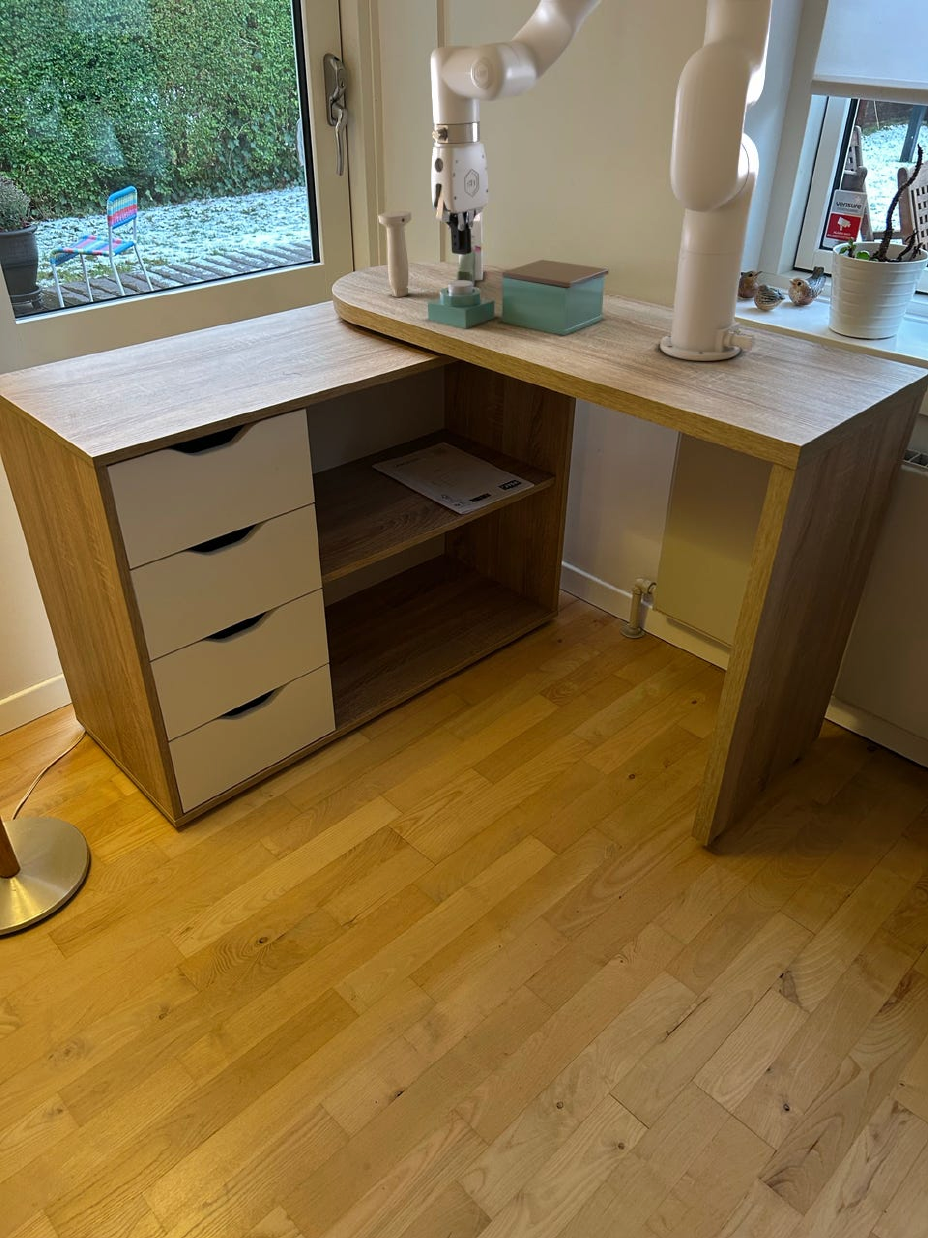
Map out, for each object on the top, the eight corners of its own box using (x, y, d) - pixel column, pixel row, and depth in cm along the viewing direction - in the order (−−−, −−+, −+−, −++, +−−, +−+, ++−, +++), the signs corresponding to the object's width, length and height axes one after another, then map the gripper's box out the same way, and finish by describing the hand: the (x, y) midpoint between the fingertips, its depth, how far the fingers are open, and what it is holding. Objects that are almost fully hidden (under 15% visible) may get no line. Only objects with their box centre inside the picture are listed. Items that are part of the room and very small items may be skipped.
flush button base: (494, 318, 166) (494, 289, 163) (465, 328, 161) (465, 299, 158) (457, 310, 171) (456, 282, 168) (428, 320, 166) (427, 291, 163)
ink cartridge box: (460, 271, 196) (458, 196, 187) (483, 270, 195) (482, 196, 187) (458, 280, 188) (456, 203, 180) (482, 280, 188) (481, 203, 180)
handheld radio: (454, 307, 172) (462, 275, 193) (471, 308, 172) (478, 275, 193) (454, 270, 168) (463, 241, 189) (472, 271, 168) (479, 242, 189)
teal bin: (601, 319, 163) (604, 274, 159) (564, 335, 156) (565, 288, 152) (540, 307, 171) (541, 264, 166) (502, 322, 163) (502, 276, 159)
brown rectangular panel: (608, 273, 158) (608, 269, 158) (569, 287, 151) (569, 282, 151) (542, 263, 166) (542, 259, 166) (502, 276, 159) (502, 271, 159)
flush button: (478, 292, 163) (477, 282, 162) (462, 297, 160) (461, 287, 160) (459, 288, 166) (459, 278, 165) (443, 293, 163) (443, 283, 162)
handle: (419, 294, 181) (415, 212, 173) (395, 300, 177) (390, 217, 169) (404, 290, 184) (399, 209, 176) (379, 296, 180) (373, 214, 172)
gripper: (443, 140, 142) (449, 263, 152) (503, 130, 152) (505, 247, 162) (409, 138, 147) (416, 258, 157) (469, 129, 156) (472, 243, 166)
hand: (461, 252), depth 159 cm, fingers closed
